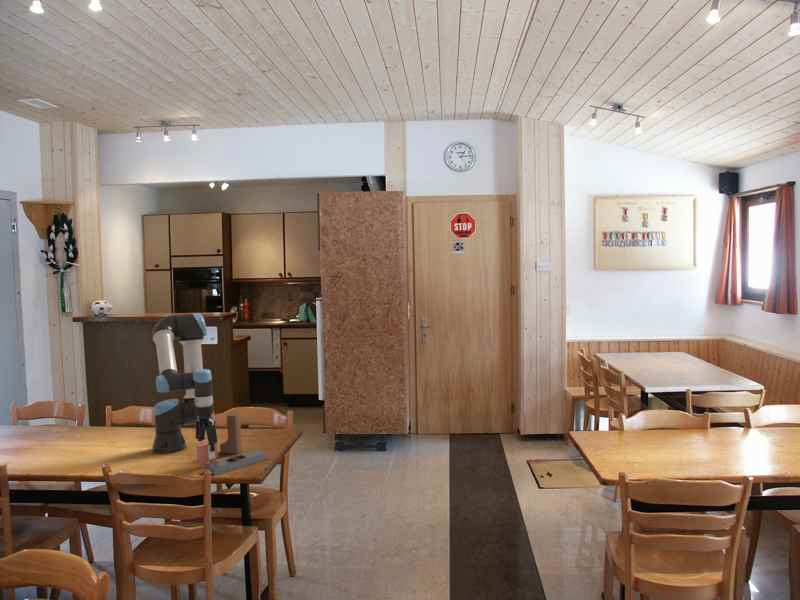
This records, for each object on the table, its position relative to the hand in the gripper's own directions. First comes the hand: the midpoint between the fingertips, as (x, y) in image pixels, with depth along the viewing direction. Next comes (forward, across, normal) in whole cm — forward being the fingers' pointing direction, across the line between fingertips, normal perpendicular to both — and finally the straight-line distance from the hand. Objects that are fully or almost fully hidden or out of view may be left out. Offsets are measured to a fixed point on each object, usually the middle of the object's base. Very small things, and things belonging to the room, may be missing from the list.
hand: (207, 456), depth 270 cm
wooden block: (+4, -9, +17) cm, 20 cm away
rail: (+4, +10, +8) cm, 13 cm away
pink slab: (+4, 0, 0) cm, 4 cm away
